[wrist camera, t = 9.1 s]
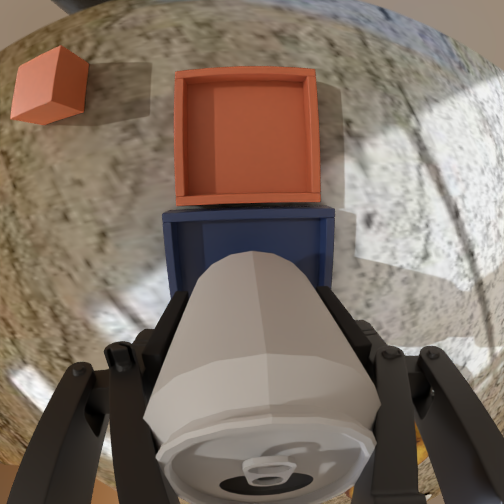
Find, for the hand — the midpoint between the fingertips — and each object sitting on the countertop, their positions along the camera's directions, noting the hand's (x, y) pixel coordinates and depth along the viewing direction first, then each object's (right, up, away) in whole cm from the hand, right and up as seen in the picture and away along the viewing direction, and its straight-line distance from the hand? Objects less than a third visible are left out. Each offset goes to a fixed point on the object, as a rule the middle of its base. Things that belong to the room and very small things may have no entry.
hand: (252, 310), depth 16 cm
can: (0, 0, +1) cm, 1 cm away
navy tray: (0, +1, +4) cm, 4 cm away
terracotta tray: (0, +11, +2) cm, 12 cm away
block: (-16, +17, 0) cm, 23 cm away
